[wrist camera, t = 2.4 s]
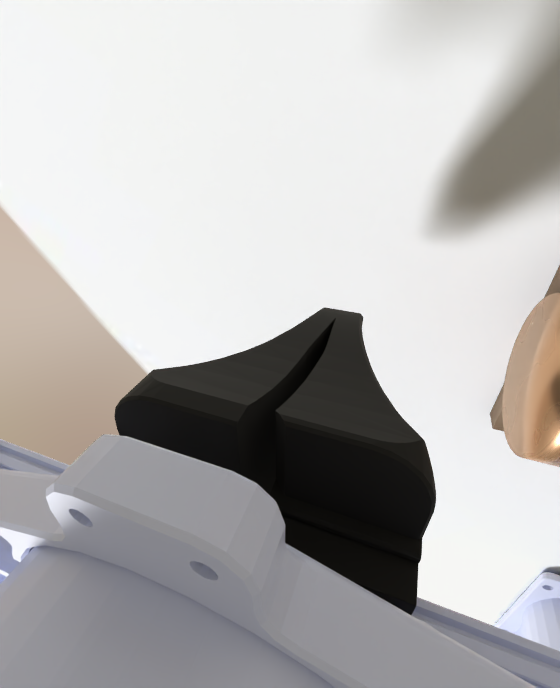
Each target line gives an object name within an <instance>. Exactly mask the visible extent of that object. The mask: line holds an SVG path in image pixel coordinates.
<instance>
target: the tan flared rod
mask: <svg viewBox="0 0 560 688" xmlns="http://www.w3.org/2000/svg"><path fill="white" fill-rule="evenodd" d="M502 418H503V427H504V432H505V436H506V439H507V442H508V444H509V446H510V448H511V450H512V451H513V452H514V453H515V454H516V455H517V456H519V457H522V458H526V459H530V460H534V461H537V462H541V463H545V464H549V465H553V466H557V467H560V293H553V294H551V295H548V296H547V297H545V298H544V299H542V300H541V301H540V302H539V303H538V304H537V305H536V306H535V307H534V309H533V310H532V311H531V313H530V314H529V316H528V317H527V319H526V321H525V322H524V324H523V326H522V328H521V330H520V332H519V334H518V337H517V339H516V341H515V344H514V347H513V349H512V353H511V356H510V359H509V363H508V367H507V371H506V376H505V382H504V389H503V400H502Z"/></svg>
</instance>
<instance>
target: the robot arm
mask: <svg viewBox="0 0 560 688" xmlns="http://www.w3.org/2000/svg"><path fill="white" fill-rule="evenodd" d="M362 322H363V316H362V315H361V314H360V313H354V312H348V311H342V310H336V309H330V308H323V309H321V310H320V311H318V312H317V313H315V314H314V315H312V316H311V317H309V318H308V319H306V320H305V321H303V322H301V323H300V324H298V325H297V326H295V327H294V328H292V329H290V330H288V331H286V332H285V333H283V334H281V335H279V336H277V337H276V338H274V339H272V340H270V341H268V342H265V343H263V344H261V345H259V346H256V347H254V348H251V349H249V350H246V351H243V352H240V353H237V354H234V355H230V356H227V357H224V358H221V359H217V360H212V361H208V362H204V363H199V364H194V365H188V366H181V367H173V368H165V369H156V370H153V371H151V372H150V373H149V374H148V375H147V376H146V377H145V378H144V379H143V380H142V381H141V382H140V383H138V385H136V386H135V387H134V388H133V389H132V390H131V391H130V392H129V393H128V394H127V395H126V396H125V397H124V398H122V399H121V400H120V402H119V403H118V405H117V406H116V409H115V421H116V425H117V429H118V432H119V435H111V434H109V435H108V434H103V435H102V436H101V437H99V438H98V439H97V440H95V441H94V442H93V443H92V444H91V445H90V446H89V447H88V448H87V449H86V450H85V451H84V452H83V453H82V454H81V455H80V456H79V457H78V458H77V459H76V460H75V461H74V462H73V463H72V464H71V465H67V464H65V463H62V462H59V461H57V460H54V459H52V458H49V457H46V456H44V455H41V454H38V453H36V452H33V451H31V450H28V449H25V448H23V447H19V446H17V445H15V444H12V443H9V442H7V441H4V440H2V439H0V688H560V575H557V574H554V573H550V572H545V573H542V574H540V575H539V576H538V578H537V579H536V580H535V581H534V582H533V583H532V584H531V585H530V586H529V587H528V589H527V590H526V591H525V592H524V593H523V594H522V595H521V596H520V597H519V598H518V600H517V601H516V602H515V603H514V604H513V605H512V606H511V607H510V608H509V609H508V611H507V612H506V613H505V614H504V615H503V616H502V617H501V618H500V619H499V620H498V622H497V623H496V624H495V625H494V626H492V625H489V624H487V623H484V622H481V621H479V620H476V619H473V618H471V617H468V616H465V615H463V614H460V613H458V612H455V611H452V610H450V609H447V608H444V607H442V606H439V605H436V604H434V603H431V602H429V601H426V600H423V599H421V598H418V597H417V580H418V563H419V562H420V560H421V553H422V537H423V535H424V533H425V530H426V528H427V526H428V524H429V521H430V519H431V517H432V514H433V512H434V508H435V503H436V490H435V482H434V476H433V470H432V466H431V462H430V458H429V454H428V451H427V447H426V444H425V441H424V440H423V439H422V438H421V437H420V436H419V435H418V433H417V432H416V431H415V430H414V429H413V428H412V427H411V426H410V425H409V424H408V423H407V422H406V421H405V420H404V419H403V418H402V417H401V416H400V414H399V413H398V412H397V411H396V409H395V408H394V406H393V405H392V404H391V402H390V401H389V399H388V398H387V396H386V395H385V393H384V392H383V390H382V388H381V386H380V384H379V383H378V381H377V379H376V377H375V374H374V372H373V370H372V368H371V365H370V362H369V359H368V356H367V353H366V350H365V346H364V341H363V336H362Z"/></svg>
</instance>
